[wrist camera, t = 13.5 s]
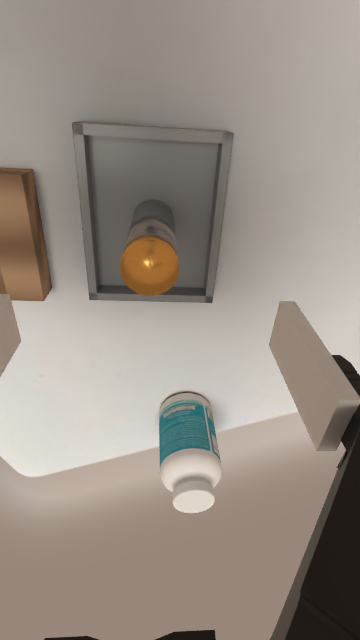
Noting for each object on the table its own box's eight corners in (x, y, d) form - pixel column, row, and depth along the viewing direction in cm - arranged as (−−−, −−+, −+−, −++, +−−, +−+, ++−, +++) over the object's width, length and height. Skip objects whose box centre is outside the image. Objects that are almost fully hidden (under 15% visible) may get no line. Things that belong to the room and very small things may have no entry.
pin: (133, 239, 34) (121, 295, 24) (132, 198, 32) (118, 239, 21) (172, 241, 34) (177, 296, 24) (174, 200, 32) (180, 242, 22)
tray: (78, 121, 29) (72, 122, 26) (228, 131, 30) (233, 133, 27) (93, 288, 37) (89, 299, 35) (209, 292, 38) (212, 302, 36)
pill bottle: (148, 413, 48) (145, 507, 37) (180, 382, 45) (188, 474, 34) (188, 432, 51) (197, 526, 39) (221, 404, 48) (241, 496, 37)
